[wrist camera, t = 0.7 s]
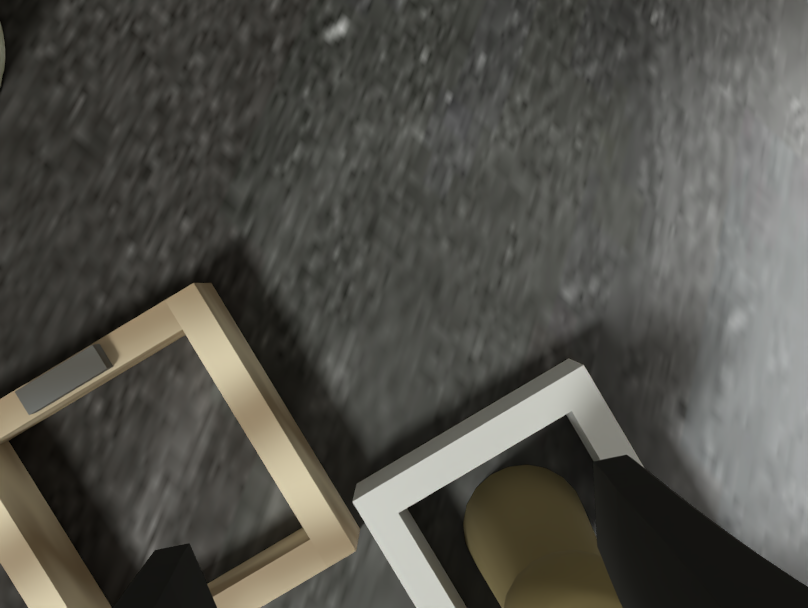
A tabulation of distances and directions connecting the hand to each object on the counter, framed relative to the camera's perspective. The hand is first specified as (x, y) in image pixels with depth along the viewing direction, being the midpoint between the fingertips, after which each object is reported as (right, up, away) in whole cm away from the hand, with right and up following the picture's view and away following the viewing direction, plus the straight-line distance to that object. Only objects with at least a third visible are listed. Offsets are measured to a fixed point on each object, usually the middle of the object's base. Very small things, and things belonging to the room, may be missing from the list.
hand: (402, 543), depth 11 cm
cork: (+6, -7, +19) cm, 21 cm away
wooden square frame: (-12, -4, +19) cm, 23 cm away
